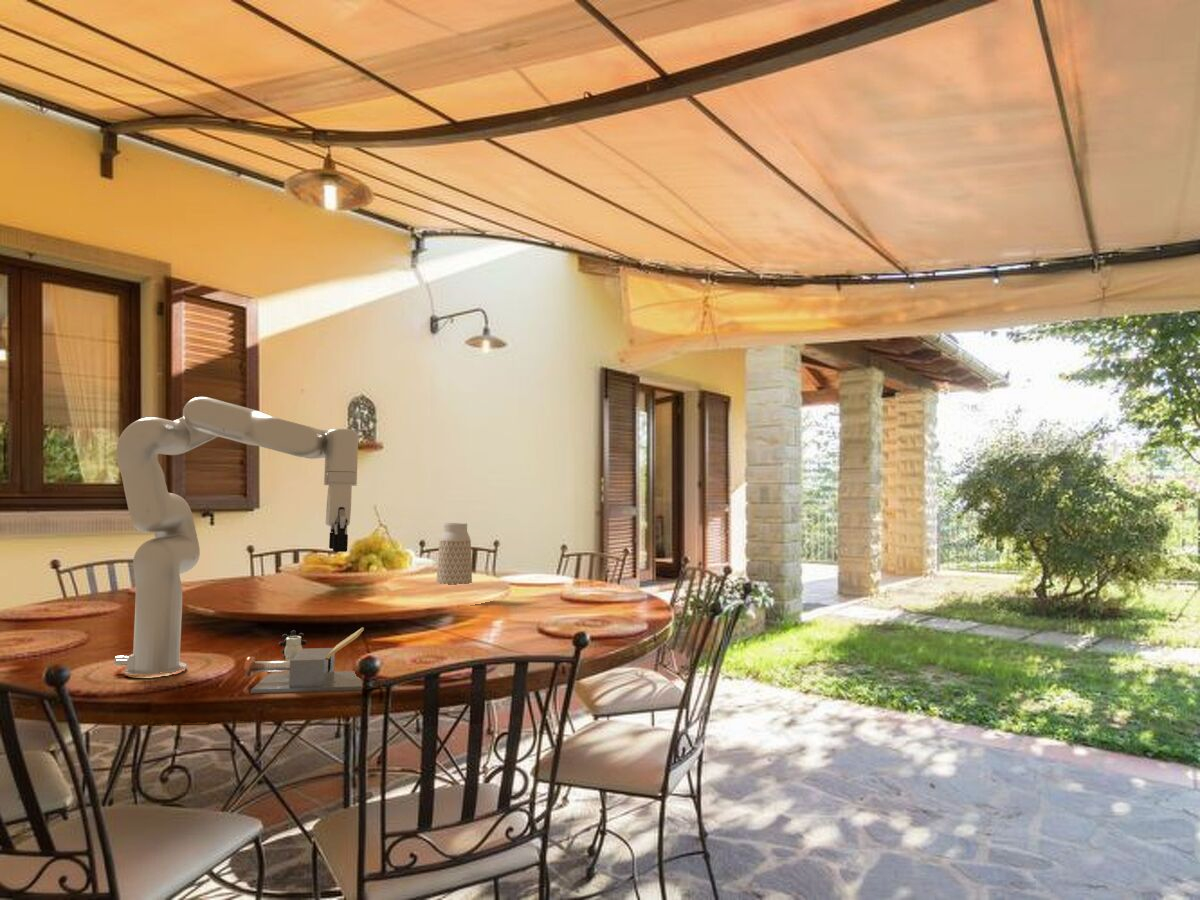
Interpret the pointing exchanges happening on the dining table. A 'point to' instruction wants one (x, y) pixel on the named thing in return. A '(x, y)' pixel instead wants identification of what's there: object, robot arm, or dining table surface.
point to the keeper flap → (344, 643)
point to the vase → (454, 555)
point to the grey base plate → (310, 675)
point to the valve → (292, 645)
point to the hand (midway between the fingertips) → (337, 550)
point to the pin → (264, 666)
